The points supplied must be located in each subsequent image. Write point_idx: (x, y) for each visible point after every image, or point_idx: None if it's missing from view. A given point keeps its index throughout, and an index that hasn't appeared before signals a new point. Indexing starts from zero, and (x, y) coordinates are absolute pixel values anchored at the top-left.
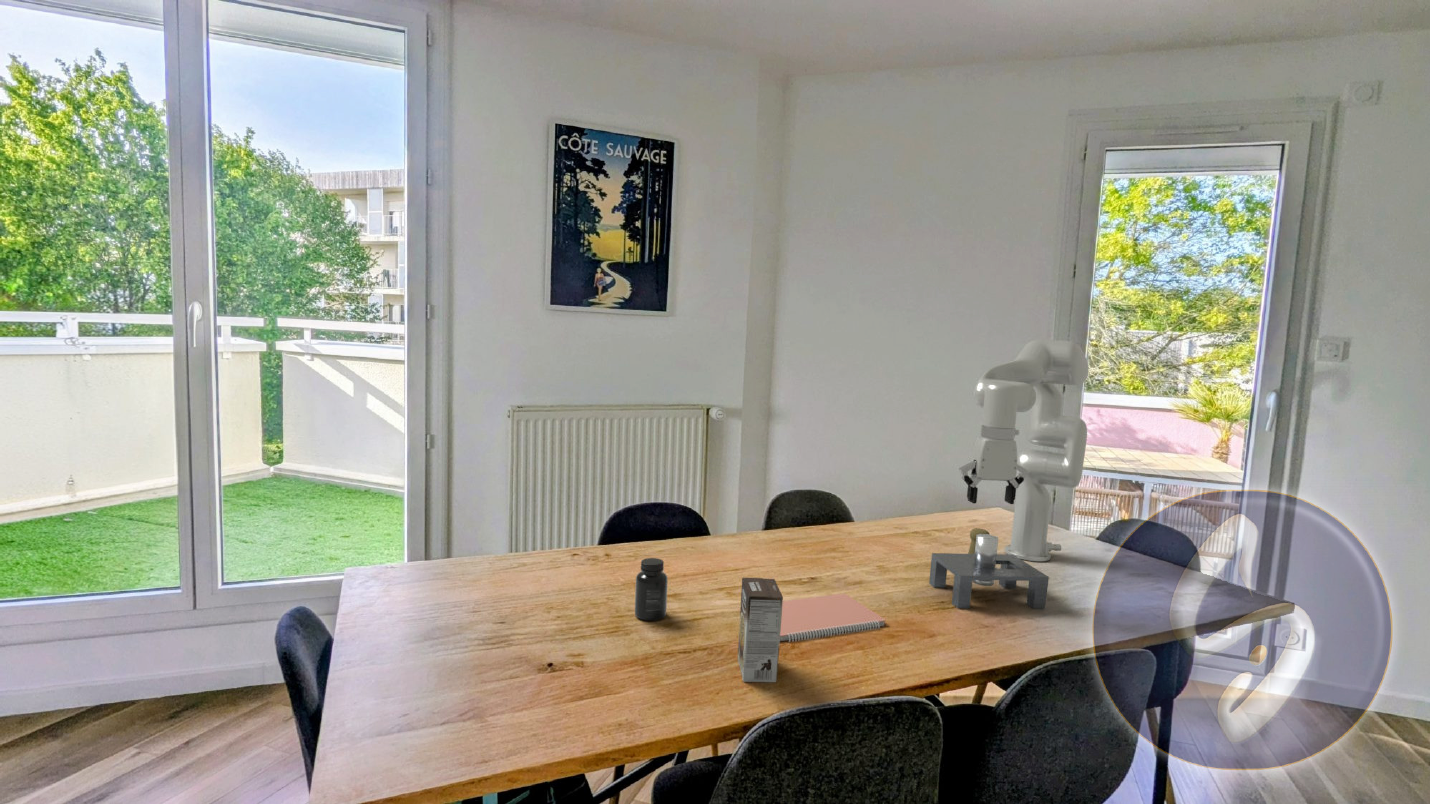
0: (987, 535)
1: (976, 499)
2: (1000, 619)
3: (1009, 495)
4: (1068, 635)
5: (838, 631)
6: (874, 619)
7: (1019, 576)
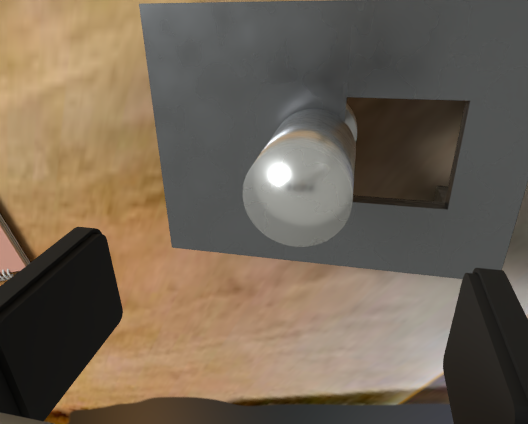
0: (311, 175)
1: (104, 339)
2: (289, 264)
3: (465, 399)
4: (404, 347)
5: None
6: (6, 264)
7: (376, 269)
